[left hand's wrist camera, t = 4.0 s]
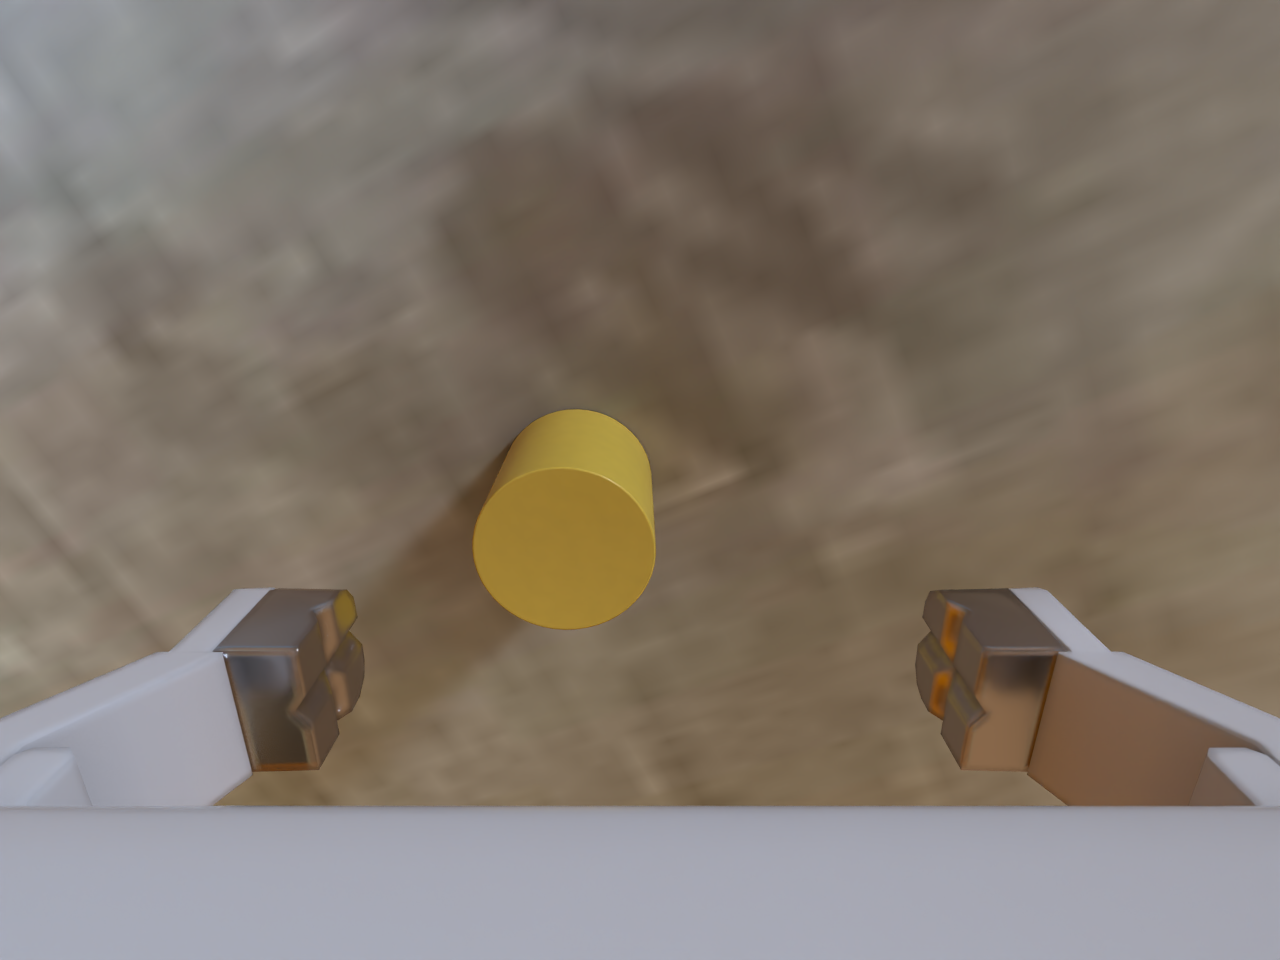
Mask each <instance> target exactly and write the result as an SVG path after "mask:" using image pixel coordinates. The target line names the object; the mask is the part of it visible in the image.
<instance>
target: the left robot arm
mask: <svg viewBox="0 0 1280 960" xmlns="http://www.w3.org/2000/svg"><path fill="white" fill-rule="evenodd" d="M356 619H357V612H356V607H355V602H354V598H353V596H352V595H351V594H350V593H349V591H348V590H340V589H288V588H278V589H275V588H242V589H235V590H233V591H232V592H231V593H230V594H229V595H228V596H227V597H226V598H225V599H224V600H223V601H222V602H221V603H220V604H218V605H217V606H216V607H215V608H214V609H213V610H212V611H211V612H210V613H209V614H208V615H207V616H206V617H205V618H204V619H203V620H202V621H201V622H200V623H199V624H198V625H197V626H196V627H194V628H193V629H192V630H191V631H190V632H189V633H188V634H187V635H186V636H185V637H184V638H183V639H182V640H181V641H180V642H179V643H178V644H177V645H176V646H175V647H174V648H173V649H172V650H171V651H169V652H156V653H154V654H151V655H149V656H146V657H144V658H142V659H139V660H137V661H135V662H132V663H130V664H128V665H125V666H123V667H120V668H118V669H116V670H113V671H111V672H109V673H106V674H104V675H102V676H99V677H97V678H95V679H92V680H90V681H87V682H85V683H83V684H80V685H78V686H76V687H73V688H71V689H69V690H66V691H64V692H61V693H59V694H57V695H54V696H52V697H50V698H47V699H45V700H43V701H40V702H38V703H35V704H33V705H31V706H28V707H26V708H24V709H21V710H19V711H17V712H14V713H12V714H9V715H7V716H5V717H2V718H0V960H1280V718H1277V717H1275V716H1272V715H1270V714H1268V713H1265V712H1263V711H1261V710H1258V709H1256V708H1254V707H1251V706H1249V705H1247V704H1244V703H1242V702H1240V701H1237V700H1235V699H1232V698H1230V697H1228V696H1225V695H1223V694H1221V693H1218V692H1216V691H1214V690H1211V689H1209V688H1207V687H1204V686H1202V685H1199V684H1197V683H1195V682H1192V681H1190V680H1188V679H1185V678H1183V677H1181V676H1178V675H1176V674H1174V673H1171V672H1169V671H1166V670H1164V669H1162V668H1159V667H1157V666H1155V665H1152V664H1150V663H1148V662H1145V661H1143V660H1141V659H1138V658H1136V657H1134V656H1131V655H1129V654H1126V653H1124V652H1111V651H1110V650H1108V649H1107V648H1106V647H1105V646H1104V645H1103V644H1102V643H1101V642H1100V641H1099V640H1098V639H1097V638H1096V637H1095V636H1094V635H1093V634H1092V633H1091V632H1090V631H1089V630H1088V629H1087V628H1086V627H1085V626H1084V625H1083V624H1081V623H1080V622H1079V621H1078V620H1077V619H1076V618H1075V617H1074V616H1073V615H1072V614H1071V613H1070V612H1069V611H1068V610H1067V609H1066V608H1065V607H1064V606H1063V605H1062V604H1061V603H1060V602H1059V601H1058V600H1057V599H1056V598H1054V597H1053V596H1052V595H1051V594H1050V593H1049V592H1048V591H1047V590H1044V589H1041V588H1038V587H1036V588H1012V589H1008V588H1005V589H964V590H936V591H930V593H929V595H928V597H927V599H926V601H925V606H924V611H923V619H924V621H925V622H926V624H927V625H928V627H929V628H930V630H931V631H930V633H929V634H928V635H927V636H926V637H925V638H924V639H923V640H922V641H921V642H920V643H919V644H918V648H917V655H916V663H915V668H916V679H917V686H918V689H919V693H920V696H921V699H922V701H923V703H924V704H925V706H926V708H927V710H928V711H929V712H930V713H932V714H933V715H935V716H937V717H938V718H940V719H941V720H943V724H942V729H941V735H942V737H943V739H944V741H945V742H946V744H947V746H948V748H949V749H950V751H951V753H952V755H953V756H954V758H955V760H956V762H957V763H958V765H959V767H960V769H961V770H985V771H1021V772H1028V773H1027V775H1028V776H1030V777H1031V778H1032V779H1034V780H1035V781H1036V782H1038V783H1039V784H1040V785H1042V786H1043V787H1044V788H1045V789H1047V790H1048V791H1049V792H1051V793H1052V794H1053V795H1055V796H1056V797H1057V798H1059V799H1060V800H1061V801H1062V802H1064V803H1065V804H1066V805H1068V806H213V805H214V804H215V803H216V802H218V801H219V800H220V799H222V798H223V797H224V796H226V795H227V794H228V793H230V792H231V791H232V790H234V789H235V788H236V787H237V786H239V785H240V784H241V783H243V782H244V781H245V780H247V779H248V778H249V777H251V776H252V774H253V773H252V772H258V771H294V770H319V769H320V767H321V765H322V764H323V762H324V760H325V758H326V757H327V755H328V753H329V751H330V749H331V748H332V746H333V744H334V742H335V741H336V739H337V737H338V735H339V729H338V724H337V720H339V719H340V718H342V717H343V716H345V715H347V714H348V713H350V712H351V711H352V710H353V708H354V706H355V704H356V702H357V701H358V699H359V697H360V693H361V688H362V684H363V680H364V654H363V647H362V644H361V643H360V642H359V641H358V640H357V639H356V638H355V637H354V636H353V635H352V634H351V633H350V631H349V630H350V628H351V627H352V625H353V624H354V622H355V621H356Z"/></svg>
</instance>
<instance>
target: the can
mask: <svg viewBox="0 0 1280 960" xmlns="http://www.w3.org/2000/svg"><path fill="white" fill-rule="evenodd" d="M472 551H473V558H474V563H475V566H476V570H477V572H478V574H479V577H480V579H481V581H482V583H483V584H484V586H485V587H486V589H487V591H488V592H489V593H490V594H491V596H492V597H493V598H494V599H495V600H496V601H497V602H498V603H499V604H500V605H501V606H502V607H504V608H505V609H506V610H508V611H509V612H510V613H512V614H514V615H515V616H517V617H519V618H520V619H523V620H525V621H527V622H529V623H532V624H535V625H538V626H542V627H547V628H552V629H563V630H570V629H582V628H588V627H592V626H595V625H599V624H601V623H604V622H606V621H609V620H611V619H613V618H614V617H616V616H618V615H620V614H621V613H622V612H624V611H625V610H627V609H628V608H629V607H630V606H631V605H632V604H633V603H634V602H635V601H636V600H637V599H638V598H639V596H640V595H641V594H642V593H643V591H644V589H645V588H646V586H647V584H648V582H649V580H650V578H651V575H652V572H653V568H654V565H655V556H656V545H655V528H654V511H653V495H652V479H651V469H650V464H649V461H648V458H647V455H646V453H645V451H644V449H643V447H642V445H641V444H640V442H639V441H638V439H637V438H636V437H635V436H634V435H633V434H632V432H631V431H629V430H628V429H627V428H626V427H625V426H624V425H622V424H621V423H619V422H618V421H616V420H614V419H612V418H610V417H608V416H606V415H604V414H601V413H598V412H594V411H589V410H580V409H572V410H562V411H557V412H554V413H550V414H547V415H545V416H543V417H541V418H539V419H537V420H535V421H534V422H532V423H531V424H530V425H528V426H527V427H526V428H525V429H524V430H523V431H522V432H521V433H520V434H519V435H518V436H517V438H516V439H515V441H514V442H513V444H512V445H511V447H510V450H509V452H508V454H507V456H506V458H505V460H504V462H503V464H502V467H501V469H500V471H499V473H498V475H497V477H496V479H495V481H494V484H493V486H492V488H491V490H490V492H489V494H488V496H487V499H486V501H485V503H484V505H483V507H482V509H481V511H480V514H479V516H478V518H477V521H476V524H475V527H474V532H473V539H472Z"/></svg>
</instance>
